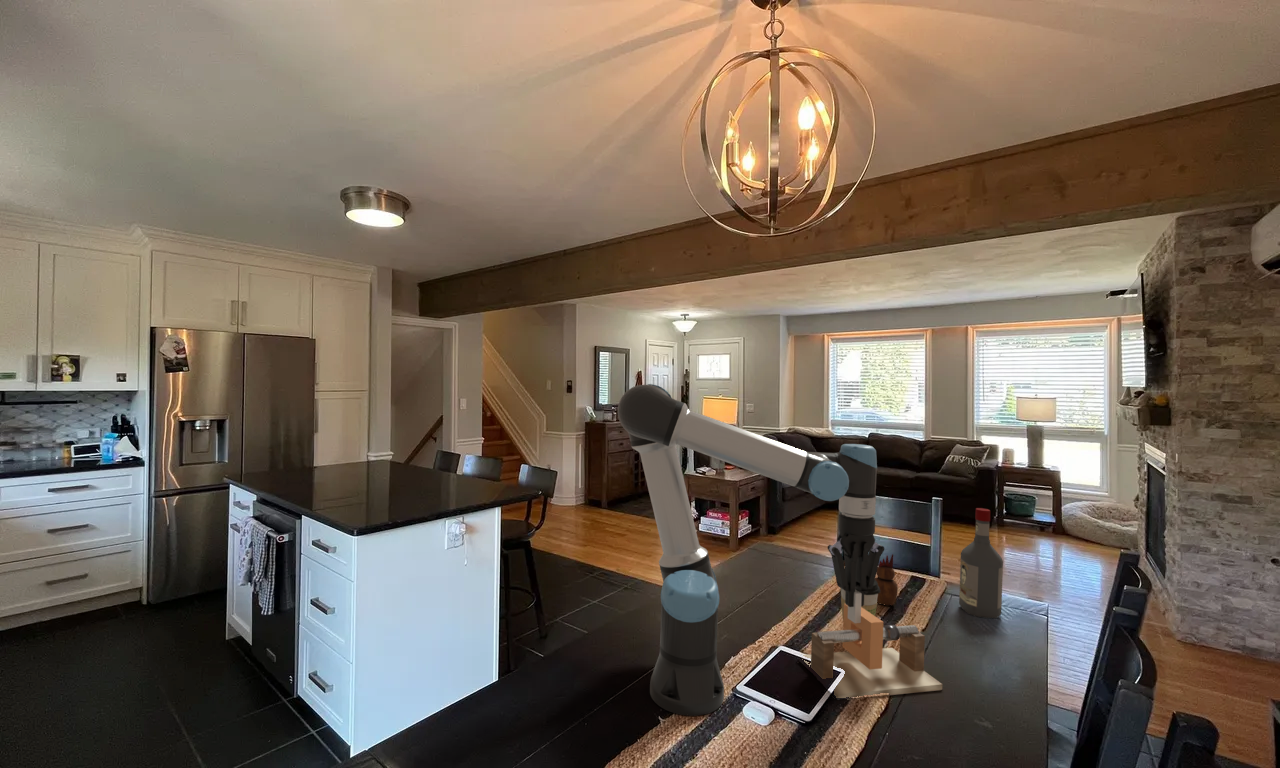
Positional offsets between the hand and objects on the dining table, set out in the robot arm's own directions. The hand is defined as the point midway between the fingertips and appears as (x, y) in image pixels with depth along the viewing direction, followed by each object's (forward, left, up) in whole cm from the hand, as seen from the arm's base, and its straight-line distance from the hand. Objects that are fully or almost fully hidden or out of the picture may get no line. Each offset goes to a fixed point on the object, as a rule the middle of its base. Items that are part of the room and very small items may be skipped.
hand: (854, 620), depth 119 cm
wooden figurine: (+34, +35, -13) cm, 51 cm away
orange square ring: (+2, 0, -8) cm, 9 cm away
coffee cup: (+12, +16, -13) cm, 24 cm away
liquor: (+59, +26, -13) cm, 66 cm away
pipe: (+4, 0, -5) cm, 6 cm away
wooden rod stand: (+4, 0, -12) cm, 13 cm away
